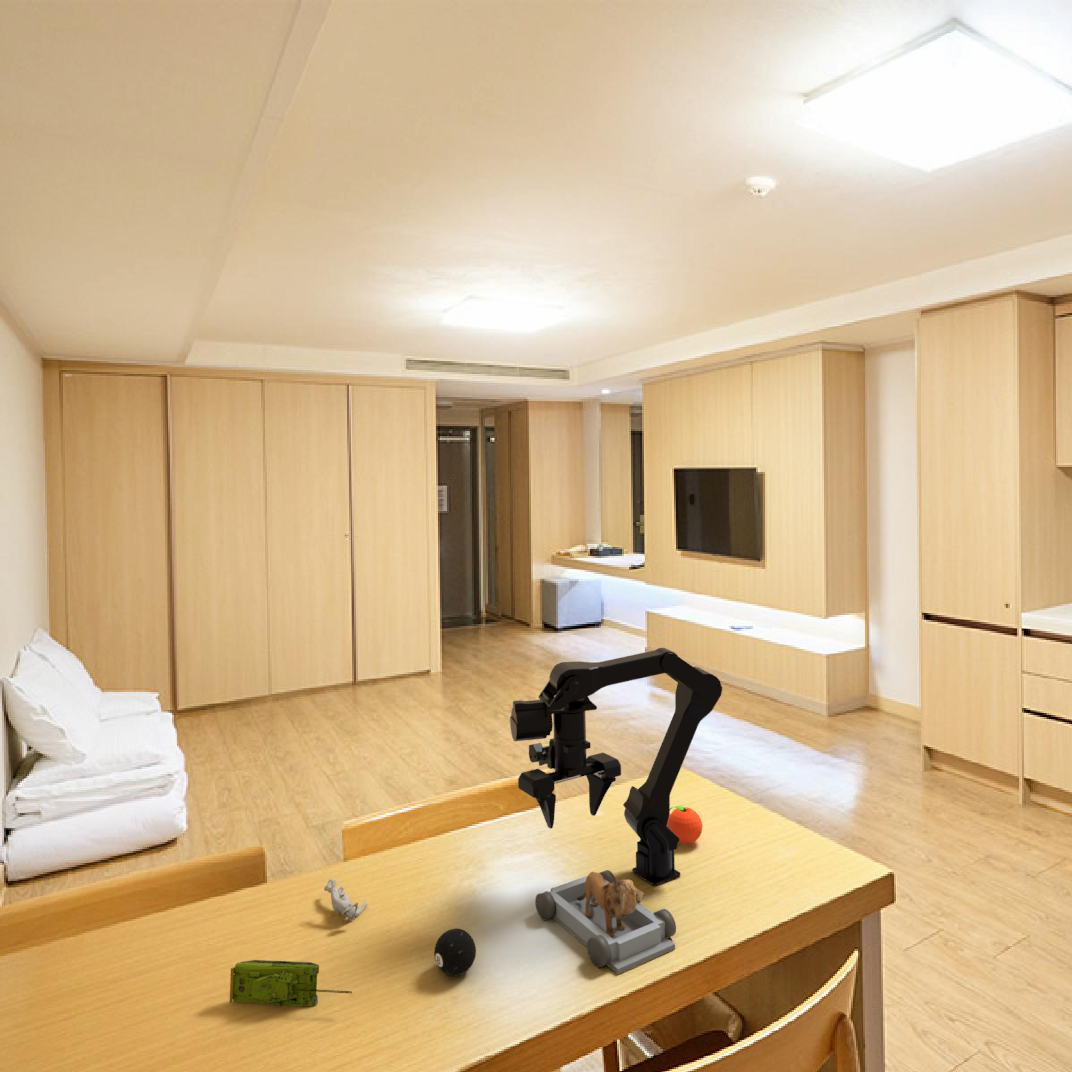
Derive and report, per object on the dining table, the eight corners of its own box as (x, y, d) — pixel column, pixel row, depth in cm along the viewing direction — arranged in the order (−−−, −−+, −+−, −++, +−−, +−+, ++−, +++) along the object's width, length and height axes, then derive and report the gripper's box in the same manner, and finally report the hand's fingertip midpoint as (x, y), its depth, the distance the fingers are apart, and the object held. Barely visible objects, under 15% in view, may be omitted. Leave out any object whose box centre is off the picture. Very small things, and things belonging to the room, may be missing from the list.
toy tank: (245, 945, 110) (209, 974, 100) (370, 951, 108) (346, 981, 99) (242, 997, 109) (206, 1032, 99) (368, 1004, 107) (343, 1039, 97)
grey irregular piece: (356, 896, 135) (383, 902, 126) (341, 922, 133) (366, 931, 123) (322, 873, 133) (347, 877, 124) (306, 899, 130) (329, 906, 121)
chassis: (598, 884, 135) (598, 862, 135) (682, 945, 116) (682, 920, 116) (531, 909, 127) (530, 886, 127) (609, 978, 109) (608, 951, 108)
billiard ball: (484, 971, 111) (482, 932, 111) (450, 990, 107) (449, 949, 107) (460, 953, 116) (459, 916, 115) (427, 971, 112) (426, 931, 111)
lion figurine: (649, 936, 117) (647, 880, 117) (623, 949, 114) (622, 891, 114) (588, 897, 129) (587, 846, 129) (564, 907, 126) (563, 855, 126)
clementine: (656, 839, 152) (655, 805, 151) (680, 829, 156) (679, 796, 156) (686, 854, 145) (685, 818, 145) (710, 843, 150) (709, 808, 149)
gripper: (586, 715, 145) (588, 794, 145) (501, 733, 135) (504, 818, 136) (622, 729, 135) (624, 814, 136) (533, 750, 125) (536, 841, 126)
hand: (571, 821), depth 134 cm, fingers open, 9 cm apart
